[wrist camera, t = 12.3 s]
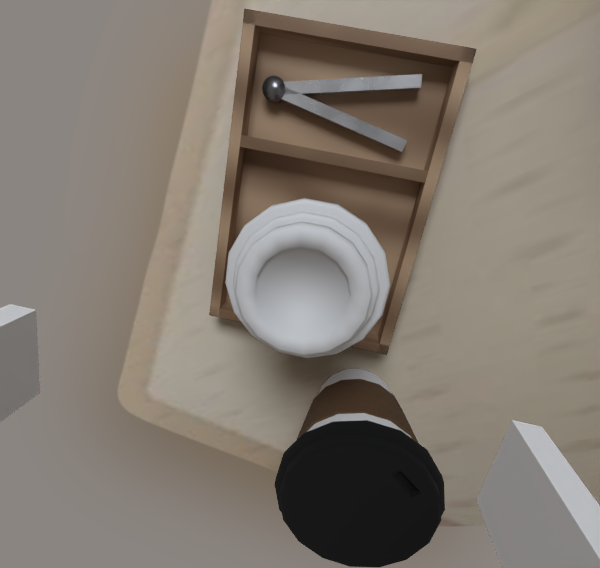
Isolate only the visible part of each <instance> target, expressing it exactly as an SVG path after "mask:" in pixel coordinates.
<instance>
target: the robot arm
mask: <svg viewBox="0 0 600 568" xmlns="http://www.w3.org/2000/svg"><path fill="white" fill-rule="evenodd" d="M38 364H39V363H38V345H37V323H36V310H34V309H29V308H24V307H20V306H16V305H12V304H9V305H7V306H5V307H2V308H0V422H1V421H3V420H4V419H5V418H7V417H8V416H9V415H11V414H12V413H13V412H15V411H16V410H18V409H19V408H20V407H22V406H23V405H24V404H26V403H27V402H28V401H30V400H31V399H32V398H34V397H35V396H36V395H38V394H39V393H40V384H39V365H38ZM476 500H477V503H478V506H479V508H480V511H481V514H482V516H483V519H484V522H485V524H486V527H487V530H488V532H489V535H490V537H491V540H492V543H493V545H494V548H495V551H496V553H497V556H498V559H499V561H500V564H501V567H502V568H600V506H599V504H598V503H597V502H596V500H595V499H594V498H593V496H592V495H591V493H590V492H589V491H588V489H587V488H586V487H585V485H584V484H583V482H582V481H581V480H580V478H579V477H578V476H577V474H576V473H575V471H574V470H573V469H572V467H571V466H570V465H569V463H568V462H567V460H566V459H565V458H564V456H563V455H562V454H561V452H560V451H559V450H558V448H557V447H556V445H555V444H554V443H553V441H552V440H551V439H550V437H549V436H548V434H547V433H546V432H545V430H544V429H543V428H542V427H540V426H536V425H532V424H527V423H523V422H519V421H514V420H512V421H511V423H510V425H509V427H508V430H507V432H506V434H505V436H504V439H503V441H502V443H501V445H500V448H499V450H498V452H497V454H496V457H495V459H494V461H493V463H492V465H491V468H490V470H489V472H488V474H487V477H486V479H485V481H484V483H483V486H482V488H481V490H480V492H479V495H478V497H477V499H476Z"/></svg>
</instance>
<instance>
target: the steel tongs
mask: <svg viewBox="0 0 600 568" xmlns="http://www.w3.org/2000/svg"><path fill="white" fill-rule="evenodd" d="M421 83H422V74H415V75H397V76H379V77H360V78H342V79H324V80H306V81H287V82H283V80H282V79H281V78H280V77H278V76H269V77H267V78H266V79H265V81H264V82H263V86H262V91H263V94H264V96H265V97H266V98H267V99H268V100H269V101H271V102H272V103H280V102H282V101H285V102H287V103H289V104H292V105H294V106H296V107H298V108H301V109H303V110H305V111H307V112H310V113H312V114H314V115H317V116H319V117H321V118H323V119H326V120H328V121H330V122H332V123H335V124H337V125H339V126H342V127H344V128H346V129H348V130H351V131H353V132H355V133H357V134H360V135H362V136H364V137H367V138H369V139H371V140H373V141H376V142H378V143H380V144H382V145H385V146H387V147H389V148H392V149H394V150H396V151H398V152H402V151H403V149H404V147H405V145H406V143H407V140H405V139H403V138H400V137H398V136H396V135H393V134H391V133H389V132H387V131H384V130H382V129H380V128H378V127H375V126H373V125H371V124H368V123H366V122H364V121H362V120H359V119H357V118H355V117H353V116H350V115H348V114H346V113H343V112H341V111H339V110H337V109H334V108H332V107H330V106H328V105H325V104H323V103H321V102H319V101H316V100H314V99H312V98H309V97H307V96H314V95H334V94H354V93H374V92H394V91H414V90H419V89H420V88H421Z"/></svg>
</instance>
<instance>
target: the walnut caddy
mask: <svg viewBox="0 0 600 568" xmlns="http://www.w3.org/2000/svg"><path fill="white" fill-rule="evenodd" d="M475 53H476V49H474V48H468V47H462V46H457V45H451V44H445V43H439V42H434V41H428V40H422V39H416V38H411V37H405V36H399V35H393V34H387V33H382V32H376V31H370V30H364V29H359V28H353V27H347V26H341V25H336V24H330V23H324V22H318V21H312V20H307V19H301V18H295V17H289V16H284V15H278V14H272V13H266V12H261V11H255V10H249V9H244V18H243V27H242V35H241V44H240V53H239V62H238V70H237V79H236V88H235V96H234V105H233V114H232V122H231V131H230V140H229V148H228V157H227V166H226V175H225V183H224V192H223V201H222V209H221V218H220V227H219V235H218V244H217V253H216V261H215V270H214V279H213V288H212V296H211V305H210V314H209V315H211V316H216V317H220V318H225V319H229V320H234V321H238V322H241V321H240V320H239V318H238V317H237V316H236V314H235V313H234V311H233V308H232V304H231V301H230V297H229V294H228V290H227V287H226V283H225V281H226V272H227V263H228V254H229V251H230V249H231V248H232V246H233V244H234V242H235V241H236V239H237V237H238V236H239V234H240V232H241V230H242V229H243V227H244V225H246V224H247V223H248V222H250V221H251V220H252V219H254V218H255V217H257V216H258V215H259V214H261V213H262V212H263V211H265V210H266V209H268V208H269V207H270V206H272V205H275V204H280V203H284V202H289V201H293V200H298V199H302V198H308V199H313V200H319V201H324V202H329V203H335V204H339V205H340V206H342V207H343V208H345V209H346V210H348V211H349V212H351V213H352V214H354V215H355V216H357V217H358V218H360V219H361V220H363V221H364V222H366V223H367V225H368V226H369V228H370V229H371V231H372V232H373V234H374V235H375V237H376V239H377V240H378V242H379V243H380V245H381V246H382V248H383V249H384V251H385V255H386V261H387V267H388V273H389V279H390V288H389V292H388V296H387V300H386V304H385V307H384V311H383V315H382V316H381V317H380V319H379V320H378V321H377V323H376V324H375V325H374V326H373V328H372V329H371V330H370V331H369V333H368V334H367V335H366V336H365V338H364V339H363V340H361V341H359V342H357V343H355V344H354V345H352V346H350V347H354V348H359V349H363V350H368V351H372V352H377V353H381V354H386V355H387V353H388V349H389V346H390V342H391V339H392V335H393V332H394V329H395V325H396V322H397V318H398V315H399V312H400V308H401V305H402V301H403V298H404V295H405V291H406V288H407V284H408V281H409V278H410V274H411V271H412V267H413V264H414V260H415V257H416V254H417V250H418V247H419V243H420V240H421V237H422V233H423V230H424V226H425V223H426V220H427V216H428V213H429V209H430V206H431V203H432V199H433V196H434V192H435V189H436V186H437V182H438V179H439V175H440V172H441V168H442V165H443V162H444V158H445V155H446V151H447V148H448V145H449V141H450V138H451V134H452V131H453V128H454V124H455V121H456V117H457V114H458V111H459V107H460V104H461V100H462V97H463V93H464V90H465V87H466V83H467V80H468V76H469V73H470V70H471V66H472V63H473V59H474V56H475ZM415 74H422V83H421V88H420V89H419V90H414V91H394V92H374V93H354V94H334V95H314V96H307V97H309V98H312V99H314V100H316V101H319V102H321V103H323V104H325V105H328V106H330V107H332V108H334V109H337V110H339V111H341V112H343V113H346V114H348V115H350V116H353V117H355V118H357V119H359V120H362V121H364V122H366V123H368V124H371V125H373V126H375V127H378V128H380V129H382V130H384V131H387V132H389V133H391V134H393V135H396V136H398V137H400V138H403V139H405V140H407V143H406V145H405V147H404V149H403V151H402V152H398V151H396V150H394V149H392V148H389V147H387V146H385V145H382V144H380V143H378V142H376V141H373V140H371V139H369V138H367V137H364V136H362V135H360V134H357V133H355V132H353V131H351V130H348V129H346V128H344V127H342V126H339V125H337V124H335V123H332V122H330V121H328V120H326V119H323V118H321V117H319V116H317V115H314V114H312V113H310V112H307V111H305V110H303V109H301V108H298V107H296V106H294V105H292V104H289V103H287V102H285V101H282V102H280V103H272V102H271V101H269V100H268V99H267V98H266V97H265V96H264V94H263V91H262V86H263V82H264V81H265V79H266V78H267V77H269V76H278V77H280V78H281V79H282V80H283V82H287V81H306V80H324V79H342V78H360V77H379V76H397V75H415Z"/></svg>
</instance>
